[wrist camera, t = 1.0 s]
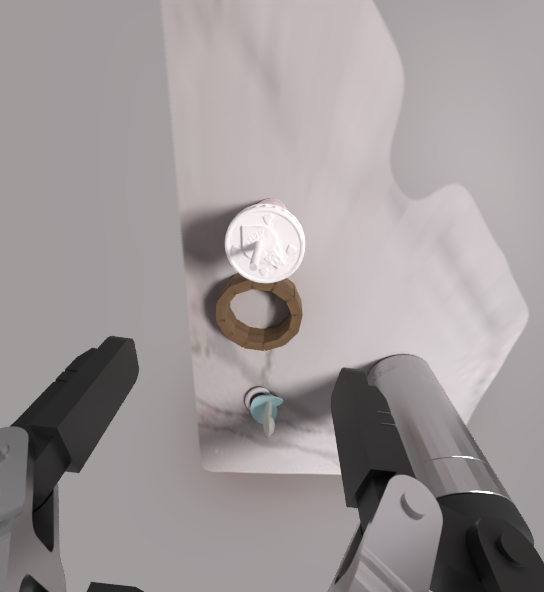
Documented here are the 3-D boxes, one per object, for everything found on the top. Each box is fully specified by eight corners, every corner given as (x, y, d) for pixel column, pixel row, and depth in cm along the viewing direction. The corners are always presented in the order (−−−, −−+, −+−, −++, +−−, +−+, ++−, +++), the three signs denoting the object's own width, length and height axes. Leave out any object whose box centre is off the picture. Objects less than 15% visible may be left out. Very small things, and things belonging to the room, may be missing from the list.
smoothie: (272, 170, 27) (259, 199, 15) (312, 217, 29) (330, 276, 17) (229, 214, 29) (189, 269, 17) (269, 254, 31) (259, 329, 19)
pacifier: (241, 407, 47) (274, 414, 47) (234, 442, 41) (272, 450, 42) (250, 379, 43) (286, 388, 43) (244, 414, 38) (285, 423, 38)
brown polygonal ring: (316, 300, 34) (319, 313, 32) (267, 346, 39) (266, 361, 36) (251, 252, 31) (248, 263, 29) (206, 308, 36) (200, 322, 33)
